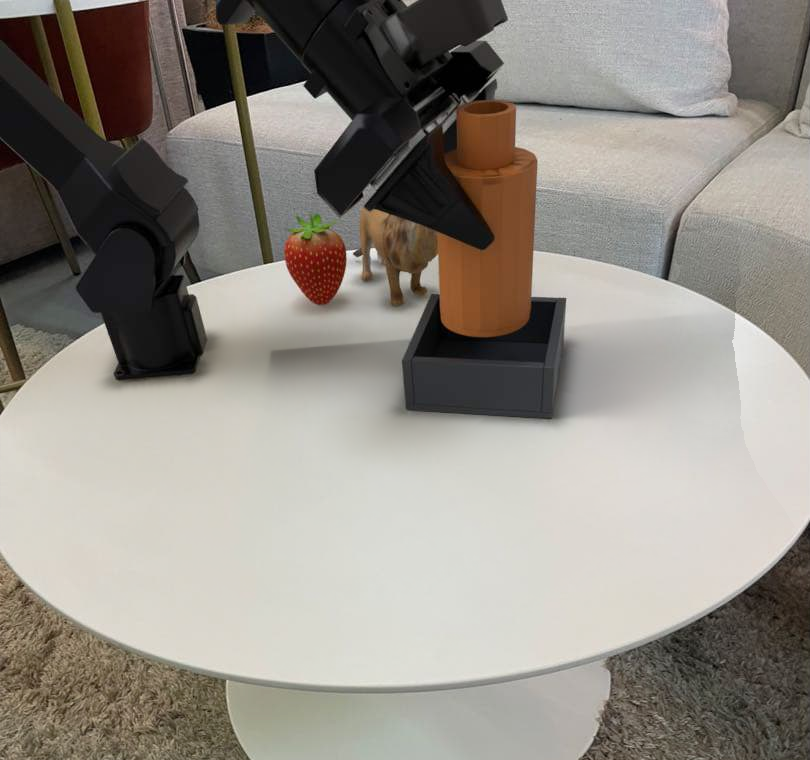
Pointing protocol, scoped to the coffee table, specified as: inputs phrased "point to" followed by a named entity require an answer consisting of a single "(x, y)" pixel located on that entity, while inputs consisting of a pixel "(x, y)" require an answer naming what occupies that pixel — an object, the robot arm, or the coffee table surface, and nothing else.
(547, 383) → the box
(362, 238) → the lion figurine
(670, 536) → the coffee table surface
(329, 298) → the fruit
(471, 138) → the bottle
